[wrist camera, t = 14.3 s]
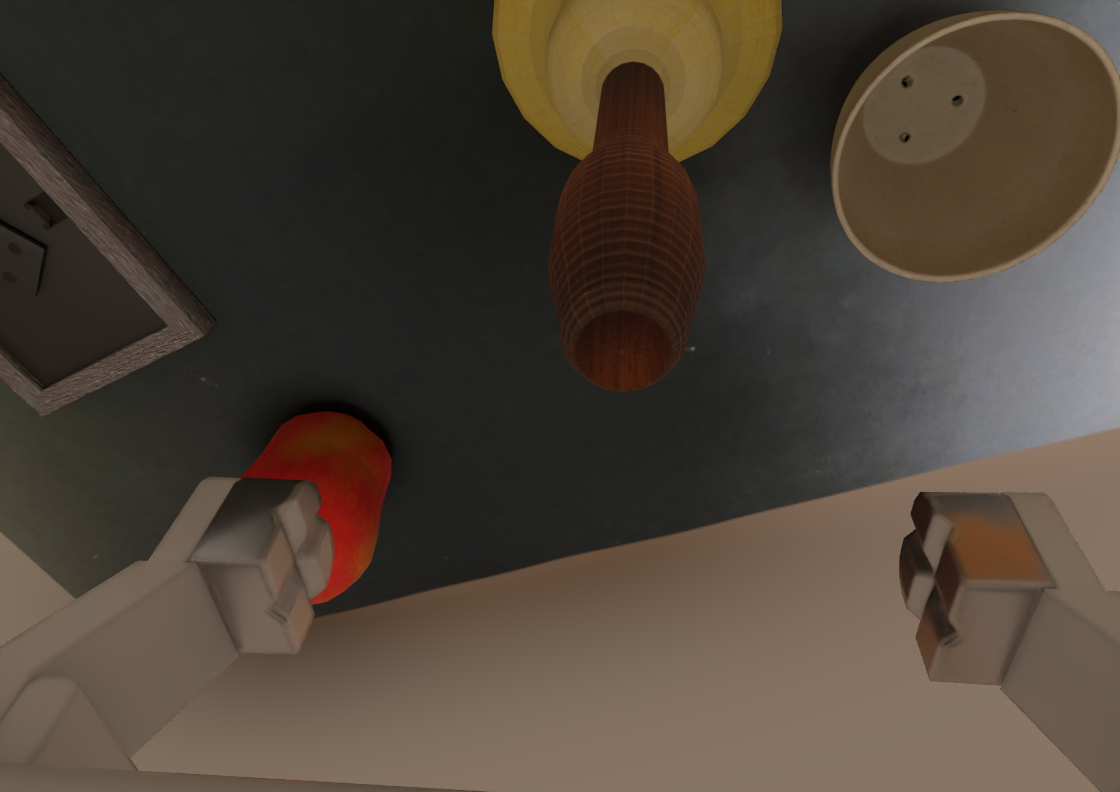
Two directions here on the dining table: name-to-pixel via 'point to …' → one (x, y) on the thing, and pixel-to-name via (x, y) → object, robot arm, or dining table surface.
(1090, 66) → the flower pot
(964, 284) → the dining table surface
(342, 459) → the apple
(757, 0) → the handbell
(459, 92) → the dining table surface
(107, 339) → the picture frame
